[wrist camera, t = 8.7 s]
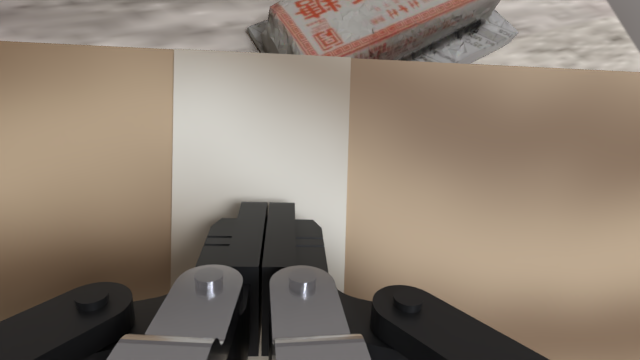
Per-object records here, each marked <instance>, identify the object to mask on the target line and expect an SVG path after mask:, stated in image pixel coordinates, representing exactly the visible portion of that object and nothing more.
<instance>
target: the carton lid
mask: <svg viewBox="0 0 640 360" xmlns="http://www.w3.org/2000/svg"><path fill="white" fill-rule="evenodd" d="M241 202H267V203H268V210H269V202H288V203H295V219H306V220H314V221H315V222H316V223H317V224H318V225H319V226H320V227H321V228H322V234H323V240H324V247H325V254H326V260H327V267H328V273H329V274H330V275H331V276H332V277H333V279H334V281H335V284H336V287H337V289H338V290H339V291H341V292H342V293H345V294H347V295H349V296H352V297H355V298H359V299H364V300H368V301H372V300H373V296H374V294H375V293H376V292H377V291H378V290H380V289H381V288H384V287H387V286H391V285H407V286H412V287H416V288H419V289H422V290H424V291H426V292H428V293H430V294H432V295H434V296H435V297H437V298H439V299H441V300H443V301H445V302H446V303H448V304H450V305H452V306H454V307H455V308H457V309H459V310H461V311H463V312H464V313H466V314H468V315H470V316H472V317H473V318H475V319H477V320H479V321H481V322H483V323H484V324H486V325H488V326H490V327H492V328H493V329H495V330H497V331H499V332H501V333H502V334H504V335H506V336H508V337H510V338H511V339H513V340H515V341H517V342H519V343H521V344H522V345H524V346H526V347H528V348H530V349H531V350H533V351H535V352H537V353H539V354H540V355H542V356H544V357H546V358H548V359H549V360H640V72H624V71H604V70H583V69H563V68H542V67H522V66H501V65H481V64H460V63H440V62H419V61H399V60H378V59H358V58H351V57H334V56H314V55H293V54H273V53H253V52H232V51H212V50H191V49H153V48H133V47H112V46H92V45H71V44H51V43H30V42H10V41H0V321H3V320H5V319H7V318H9V317H12V316H14V315H16V314H18V313H21V312H23V311H25V310H27V309H30V308H32V307H34V306H36V305H39V304H41V303H43V302H45V301H48V300H50V299H52V298H54V297H57V296H59V295H61V294H63V293H66V292H68V291H70V290H72V289H75V288H77V287H80V286H83V285H87V284H91V283H97V282H115V283H120V284H123V285H125V286H127V287H128V288H129V289H130V290H131V292H132V296H133V302H134V301H139V300H145V299H150V298H155V297H160V296H163V295H166V294H168V293H169V291H170V289H171V288H172V286H173V284H174V283H175V281H176V279H177V278H178V277H179V276H180V275H181V274H182V273H184V272H185V271H187V270H189V269H192V268H195V266H196V263H197V261H198V258H199V256H200V253H201V250H202V248H203V246H204V243H205V240H206V238H207V235H208V232H209V230H210V227H211V226H212V225H213V224H214V223H216V222H217V221H218V220H220V219H221V218H237V216H238V213H239V209H240V205H241ZM261 334H262V324H261ZM248 360H269V356H261V335H260V345H259V356H248Z"/></svg>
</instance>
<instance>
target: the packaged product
mask: <svg viewBox="0 0 640 360" xmlns="http://www.w3.org/2000/svg"><path fill="white" fill-rule="evenodd" d="M499 2H500V0H283V1H279V2H277V3H276V4H274V5H272V6H270V10H269V17H268V20H266V21H263V22H260V23H258V24H255V25H252V26H250V27H248V28H247V30H248V32H249V34H250V36H251V38H252V39H253V41H254V42H255V44H256V45H257V47H258V49H259V50H260V52H261V53H273V54H293V55H314V56H334V57H351V58H358V59H378V60H399V61H419V62H440V63H460V64H470V63H472V62H474V61H476V60H478V59H480V58H482V57H484V56H486V55H488V54H490V53H492V52H494V51H496V50H498V49H500V48H502V47H503V46H505V45H507V44H508V43H510V42H511V41H512V39H513V38H514V37H515V36H516V35H517V34H518V33H519V32H518V31H517V30H516V29H515V28H514V27H513V26H512V25H511V24H510V23H509V22H508V21H507V20H505V19H504V18H503V17H502V16H501V15H500V14H499V13H498V12H497V11H496V10H495V7H496V6H497V4H498V3H499Z"/></svg>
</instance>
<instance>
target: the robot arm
mask: <svg viewBox="0 0 640 360" xmlns="http://www.w3.org/2000/svg"><path fill="white" fill-rule="evenodd" d="M261 324H262V334H261ZM260 335H261V356H269V360H549V359H548V358H546V357H544V356H542V355H540V354H539V353H537V352H535V351H533V350H531V349H530V348H528V347H526V346H524V345H522V344H521V343H519V342H517V341H515V340H513V339H511V338H510V337H508V336H506V335H504V334H502V333H501V332H499V331H497V330H495V329H493V328H492V327H490V326H488V325H486V324H484V323H483V322H481V321H479V320H477V319H475V318H473V317H472V316H470V315H468V314H466V313H464V312H463V311H461V310H459V309H457V308H455V307H454V306H452V305H450V304H448V303H446V302H445V301H443V300H441V299H439V298H437V297H435V296H434V295H432V294H430V293H428V292H426V291H424V290H422V289H419V288H416V287H412V286H407V285H391V286H387V287H384V288H381V289H380V290H378V291H377V292H376V293H375V294H374V296H373V300H372V301H368V300H364V299H359V298H355V297H352V296H349V295H347V294H345V293H342V292H341V291H339V290H338V289H337V287H336V284H335V281H334V279H333V277H332V276H331V275H330V274H329V273H328V267H327V260H326V254H325V247H324V240H323V234H322V228H321V227H320V226H319V225H318V224H317V223H316V222H315V221H314V220H306V219H295V203H288V202H269V210H268V203H267V202H241V205H240V209H239V213H238V216H237V218H221V219H220V220H218V221H217V222H216V223H214V224H213V225H212V226H211V227H210V230H209V232H208V235H207V238H206V240H205V243H204V246H203V248H202V250H201V253H200V256H199V258H198V261H197V263H196V266H195V268H192V269H189V270H187V271H185V272H184V273H182V274H181V275H180V276H179V277H178V278H177V279H176V281H175V283H174V284H173V286H172V288H171V289H170V291H169V293H168V294H166V295H163V296H160V297H155V298H150V299H145V300H139V301H134V302H133V296H132V292H131V290H130V289H129V288H128V287H127V286H125V285H123V284H120V283H115V282H97V283H91V284H87V285H83V286H80V287H77V288H75V289H72V290H70V291H68V292H66V293H63V294H61V295H59V296H57V297H54V298H52V299H50V300H48V301H45V302H43V303H41V304H39V305H36V306H34V307H32V308H30V309H27V310H25V311H23V312H21V313H18V314H16V315H14V316H12V317H9V318H7V319H5V320H3V321H0V360H248V356H259V345H260Z"/></svg>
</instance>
